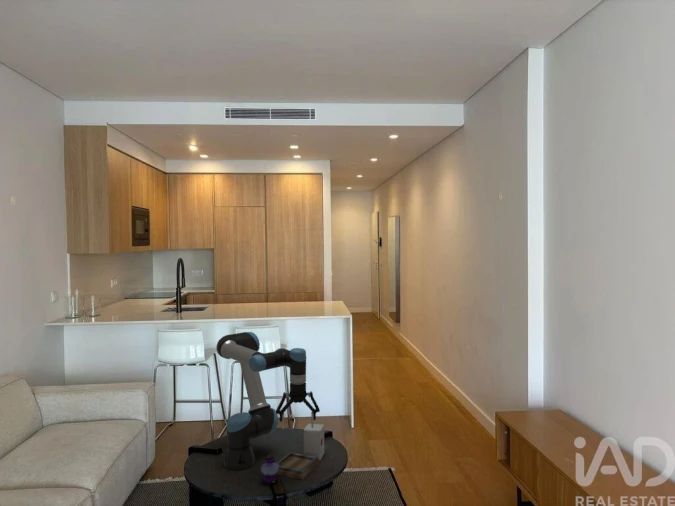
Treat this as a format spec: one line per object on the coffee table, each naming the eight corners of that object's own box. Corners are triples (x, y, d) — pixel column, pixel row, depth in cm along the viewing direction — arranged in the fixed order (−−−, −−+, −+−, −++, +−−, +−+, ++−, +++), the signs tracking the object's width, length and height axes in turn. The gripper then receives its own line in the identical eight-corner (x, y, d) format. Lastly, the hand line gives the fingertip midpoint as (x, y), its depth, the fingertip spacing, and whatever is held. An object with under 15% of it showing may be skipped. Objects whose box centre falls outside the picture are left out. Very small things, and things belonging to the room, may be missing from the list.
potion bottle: (278, 475, 216) (277, 450, 216) (281, 484, 208) (280, 458, 208) (259, 478, 214) (259, 452, 214) (261, 487, 206) (261, 460, 206)
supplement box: (320, 460, 231) (320, 431, 231) (303, 459, 233) (303, 429, 233) (324, 452, 240) (324, 424, 240) (308, 451, 242) (307, 423, 242)
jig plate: (270, 473, 219) (270, 466, 219) (289, 457, 236) (289, 451, 236) (302, 479, 212) (302, 473, 212) (319, 463, 229) (319, 456, 229)
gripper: (270, 385, 210) (270, 432, 211) (325, 383, 213) (325, 429, 214) (271, 380, 217) (270, 425, 218) (323, 379, 221) (323, 423, 221)
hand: (297, 427), depth 216 cm, fingers open, 13 cm apart
